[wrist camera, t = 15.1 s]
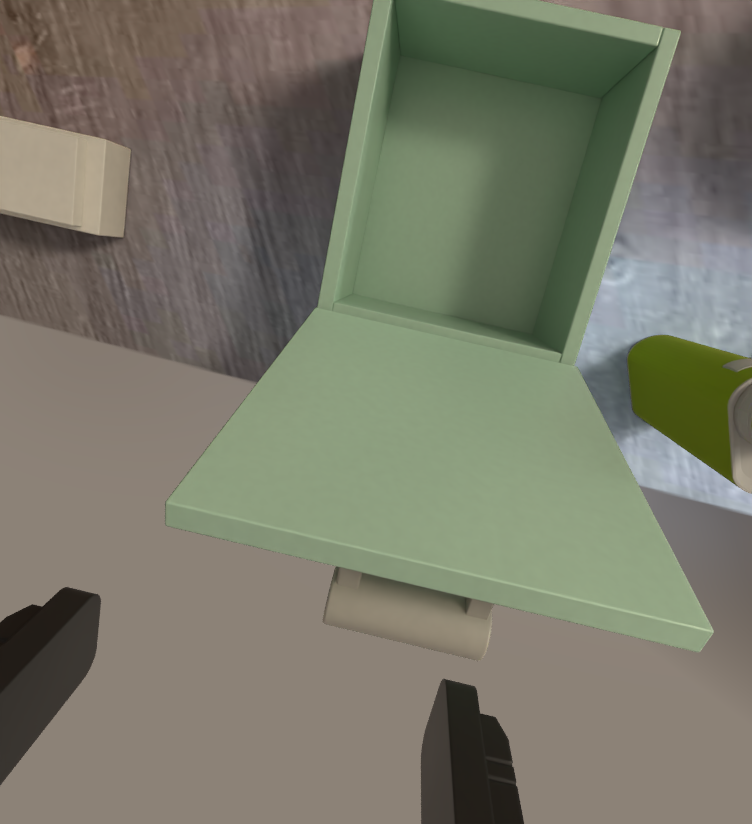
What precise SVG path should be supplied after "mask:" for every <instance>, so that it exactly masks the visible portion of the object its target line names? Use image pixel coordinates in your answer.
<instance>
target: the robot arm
mask: <svg viewBox="0 0 752 824" xmlns="http://www.w3.org/2000/svg"><path fill="white" fill-rule="evenodd" d="M100 604H101V599H100V596H99V595H98V594H93V593H89V592H85V591H81V590H77V589H73V588H68V587H65V588H63V589H61V590H60V591H59V592H58V593H57V594H56V595H54V597H52V599H50V600H49V601H48V602H47V603H46V604H45V605H44V606H43V607H41V606H37V605H30V606H28V607H26V608H24V609H22V610H20V611H18V612H16V613H14V614H12V615H10V616H8V617H6V618H5V619H4V620H3V621H2V622H0V785H1V784H2V782H3V781H4V780H5V779H6V777H7V776H8V775H9V774H10V772H11V771H12V770H13V768H14V767H15V766H16V765H17V763H18V762H19V761H20V760H21V758H22V757H23V756H24V754H25V753H26V752H27V751H28V749H29V748H30V747H31V746H32V744H33V743H34V742H35V740H36V739H37V738H38V737H39V735H40V734H41V733H42V731H43V730H44V729H45V727H46V726H47V725H48V724H49V723H50V721H51V720H52V719H53V717H54V716H55V715H56V714H57V712H58V711H59V710H60V708H61V707H62V706H63V704H64V703H65V702H66V701H67V700H68V698H69V697H70V696H71V694H72V693H73V692H74V691H75V689H76V688H77V687H78V686H79V684H80V683H81V682H82V680H83V679H84V677H85V676H86V675H87V673H88V671H89V669H90V667H91V665H92V663H93V660H94V657H95V653H96V649H97V637H98V627H99V616H100ZM512 763H513V762H512V756H511V751H510V746H509V740H508V738H507V736H506V734H505V733H504V731H503V729H502V728H501V726H500V724H499V723H498V721H497V719H496V717H493V716H489V715H484V714H480V711H479V703H478V696H477V690H476V688H475V686H471V685H467V684H462V683H459V682H455V681H450V680H446V679H443V680H442V681H441V683H440V686H439V689H438V692H437V695H436V698H435V701H434V705H433V708H432V711H431V714H430V717H429V720H428V723H427V726H426V730H425V734H424V739H423V744H422V753H421V824H524V821H523V815H522V810H521V805H520V800H519V794H518V789H517V786H516V778H515V773H514V768H513V767H512Z"/></svg>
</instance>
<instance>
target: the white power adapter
mask: <svg viewBox="0 0 752 824" xmlns="http://www.w3.org/2000/svg"><path fill="white" fill-rule="evenodd" d="M130 156H131V149H129V148H126V147H124V146H121V145H119V144H116V143H114V142H111V141H109V140H106V139H102V138H98V137H93V136H89V135H84V134H80V133H75V132H71V131H66V130H62V129H57V128H53V127H48V126H44V125H39V124H35V123H30V122H26V121H21V120H17V119H12V118H8V117H3V116H0V213H1V214H5V215H10V216H14V217H19V218H23V219H27V220H32V221H36V222H41V223H45V224H50V225H54V226H58V227H63V228H67V229H72V230H76V231H81V232H85V233H89V234H94V235H98V236H109V237H120V238H123V237H124V227H125V215H126V203H127V192H128V180H129V168H130Z"/></svg>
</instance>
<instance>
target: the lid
mask: <svg viewBox="0 0 752 824" xmlns="http://www.w3.org/2000/svg"><path fill="white" fill-rule="evenodd" d="M165 525H166V526H168V527H173V528H177V529H181V530H185V531H190V532H194V533H198V534H202V535H207V536H211V537H215V538H219V539H223V540H227V541H231V542H236V543H240V544H244V545H248V546H253V547H257V548H261V549H265V550H269V551H274V552H278V553H282V554H286V555H291V556H295V557H299V558H303V559H307V560H311V561H316V562H320V563H324V564H328V565H333V566H336V568H335V570H334V574H333V578H332V581H331V586H330V589H329V593H328V597H327V602H326V606H325V611H324V616H323V623H324V624H327V625H331V626H335V627H339V628H343V629H347V630H352V631H356V632H360V633H364V634H368V635H373V636H376V637H381V638H385V639H389V640H393V641H397V642H402V643H406V644H410V645H415V646H418V647H422V648H426V649H431V650H435V651H439V652H444V653H447V654H452V655H456V656H460V657H465V658H468V659H472V660H476V661H478V660H482V659H483V657H484V655H485V653H486V651H487V648H488V644H489V640H490V635H491V628H492V608H493V605H494V604H496V605H501V606H505V607H509V608H513V609H518V610H522V611H526V612H530V613H534V614H539V615H543V616H547V617H551V618H556V619H560V620H564V621H568V622H572V623H576V624H581V625H585V626H589V627H593V628H597V629H602V630H606V631H610V632H614V633H619V634H623V635H627V636H631V637H635V638H639V639H644V640H648V641H652V642H657V643H661V644H665V645H669V646H673V647H677V648H682V649H686V650H690V651H694V652H700V651H701V649H702V648H703V647H704V645H705V644H706V642H707V641H708V640H709V638H710V637H711V635H712V634H713V629H712V627H711V625H710V623H709V621H708V619H707V617H706V615H705V613H704V611H703V609H702V607H701V606H700V604H699V602H698V600H697V598H696V596H695V594H694V592H693V590H692V588H691V586H690V584H689V582H688V580H687V578H686V576H685V575H684V573H683V571H682V569H681V567H680V565H679V563H678V561H677V559H676V557H675V555H674V553H673V551H672V549H671V547H670V545H669V544H668V542H667V540H666V538H665V536H664V534H663V532H662V530H661V528H660V526H659V524H658V522H657V520H656V518H655V516H654V514H653V513H652V511H651V509H650V507H649V505H648V503H647V501H646V499H645V497H644V495H643V493H642V491H641V490H640V487H639V485H638V483H637V481H636V480H635V478H634V476H633V474H632V472H631V470H630V468H629V466H628V464H627V462H626V460H625V458H624V456H623V454H622V452H621V450H620V449H619V447H618V445H617V443H616V441H615V439H614V437H613V435H612V433H611V431H610V429H609V427H608V425H607V423H606V421H605V419H604V418H603V416H602V414H601V412H600V410H599V408H598V406H597V404H596V402H595V400H594V398H593V396H592V394H591V392H590V390H589V388H588V387H587V385H586V383H585V381H584V379H583V377H582V375H581V373H580V371H579V369H578V367H575V366H571V365H566V364H562V363H558V362H553V361H549V360H544V359H540V358H536V357H531V356H527V355H522V354H518V353H514V352H509V351H505V350H500V349H496V348H492V347H487V346H483V345H478V344H474V343H470V342H465V341H461V340H456V339H452V338H448V337H443V336H439V335H434V334H430V333H426V332H421V331H417V330H412V329H408V328H404V327H399V326H395V325H390V324H386V323H382V322H377V321H373V320H368V319H364V318H360V317H355V316H351V315H346V314H342V313H338V312H333V311H329V310H324V309H320V308H315V309H314V310H313V311H312V313H311V314H310V315H309V317H308V318H307V319H306V320H305V322H304V323H303V324H302V326H301V327H300V328H299V329H298V331H297V332H296V333H295V335H294V336H293V337H292V339H291V340H290V341H289V342H288V344H287V345H286V346H285V348H284V349H283V350H282V352H281V353H280V354H279V355H278V357H277V358H276V359H275V361H274V362H273V363H272V364H271V366H270V367H269V368H268V370H267V371H266V372H265V374H264V375H263V376H262V377H261V379H260V380H259V381H258V383H257V384H256V385H255V387H254V388H253V389H252V390H251V392H250V393H249V394H248V396H247V397H246V398H245V399H244V401H243V402H242V403H241V405H240V406H239V407H238V409H237V410H236V411H235V413H234V414H233V415H232V416H231V418H230V419H229V420H228V422H227V423H226V424H225V426H224V427H223V428H222V429H221V431H220V432H219V433H218V435H217V436H216V437H215V438H214V440H213V441H212V442H211V443H210V445H209V446H208V448H207V449H206V450H205V451H204V453H203V454H202V455H201V457H200V458H199V459H198V461H197V462H196V463H195V464H194V465H193V467H192V468H191V470H190V471H189V472H188V473H187V475H186V476H185V477H184V478H183V480H182V481H181V482H180V484H179V485H178V486H177V487H176V489H175V490H174V491H173V493H172V494H171V495H170V497H169V498H168V499H167V501H166V503H165Z"/></svg>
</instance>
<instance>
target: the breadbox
mask: <svg viewBox="0 0 752 824" xmlns="http://www.w3.org/2000/svg"><path fill="white" fill-rule="evenodd" d="M680 34H681V31H679V30H675V29H670V28H663V27H661V26H656V25H651V24H647V23H642V22H637V21H632V20H628V19H623V18H618V17H614V16H609V15H604V14H600V13H595V12H590V11H585V10H581V9H576V8H571V7H567V6H562V5H557V4H552V3H548V2H543V1H538V0H373V5H372V11H371V16H370V22H369V27H368V33H367V38H366V43H365V49H364V54H363V60H362V65H361V71H360V76H359V82H358V87H357V93H356V98H355V103H354V109H353V114H352V120H351V125H350V131H349V136H348V142H347V147H346V153H345V158H344V163H343V169H342V174H341V180H340V185H339V191H338V196H337V202H336V207H335V213H334V218H333V223H332V229H331V234H330V240H329V245H328V251H327V256H326V262H325V267H324V273H323V278H322V283H321V289H320V294H319V300H318V305H317V308H320V309H324V310H329V311H333V312H338V313H342V314H346V315H351V316H355V317H360V318H364V319H368V320H373V321H377V322H382V323H386V324H390V325H395V326H399V327H404V328H408V329H412V330H417V331H421V332H426V333H430V334H434V335H439V336H443V337H448V338H452V339H456V340H461V341H465V342H470V343H474V344H478V345H483V346H487V347H492V348H496V349H500V350H505V351H509V352H514V353H518V354H522V355H527V356H531V357H536V358H540V359H544V360H549V361H553V362H558V363H562V364H566V365H571V366H574V365H575V362H576V358H577V355H578V352H579V349H580V346H581V343H582V340H583V337H584V333H585V330H586V327H587V324H588V321H589V318H590V315H591V312H592V309H593V305H594V302H595V299H596V296H597V293H598V290H599V287H600V284H601V280H602V277H603V274H604V271H605V268H606V265H607V262H608V259H609V255H610V252H611V249H612V246H613V243H614V240H615V237H616V234H617V231H618V227H619V224H620V221H621V218H622V215H623V212H624V209H625V206H626V202H627V199H628V196H629V193H630V190H631V187H632V184H633V181H634V178H635V174H636V171H637V168H638V165H639V162H640V159H641V156H642V153H643V149H644V146H645V143H646V140H647V137H648V134H649V131H650V128H651V124H652V121H653V118H654V115H655V112H656V109H657V106H658V103H659V100H660V96H661V93H662V90H663V87H664V84H665V81H666V78H667V75H668V71H669V68H670V65H671V62H672V59H673V56H674V53H675V50H676V47H677V43H678V40H679V37H680Z"/></svg>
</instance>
